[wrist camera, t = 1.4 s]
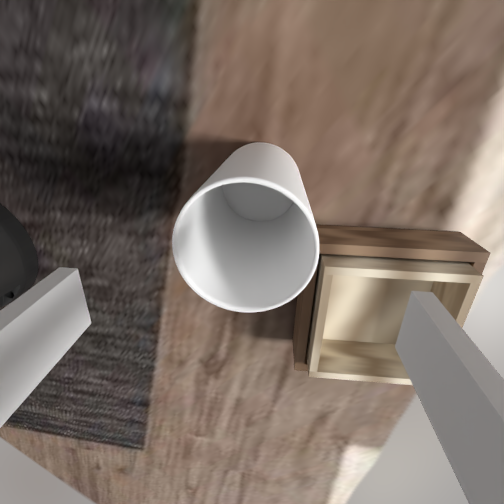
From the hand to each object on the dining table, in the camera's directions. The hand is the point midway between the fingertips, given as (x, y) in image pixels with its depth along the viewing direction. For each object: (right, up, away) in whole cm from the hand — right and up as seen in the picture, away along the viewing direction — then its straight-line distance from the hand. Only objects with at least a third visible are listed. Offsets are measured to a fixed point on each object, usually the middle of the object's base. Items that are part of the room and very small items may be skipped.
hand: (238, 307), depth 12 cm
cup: (+1, +9, +19) cm, 21 cm away
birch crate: (+14, -3, +22) cm, 27 cm away
